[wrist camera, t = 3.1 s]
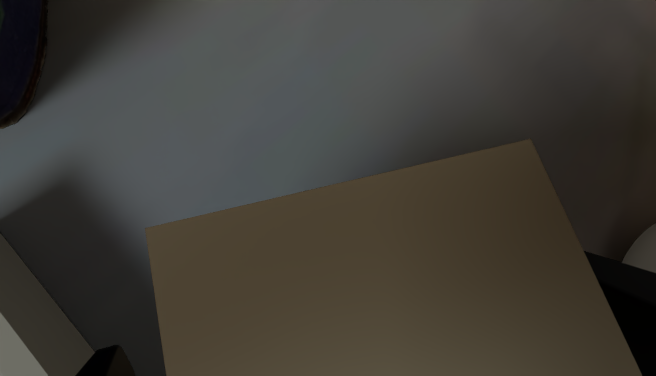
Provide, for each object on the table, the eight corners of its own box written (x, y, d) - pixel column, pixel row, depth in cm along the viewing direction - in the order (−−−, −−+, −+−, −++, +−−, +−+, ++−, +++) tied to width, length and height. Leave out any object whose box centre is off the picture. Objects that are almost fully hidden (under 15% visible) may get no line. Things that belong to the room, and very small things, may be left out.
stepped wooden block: (417, 399, 15) (844, 648, 4) (259, 455, 14) (143, 1076, 2) (369, 246, 17) (554, 80, 5) (225, 284, 15) (66, 181, 4)
